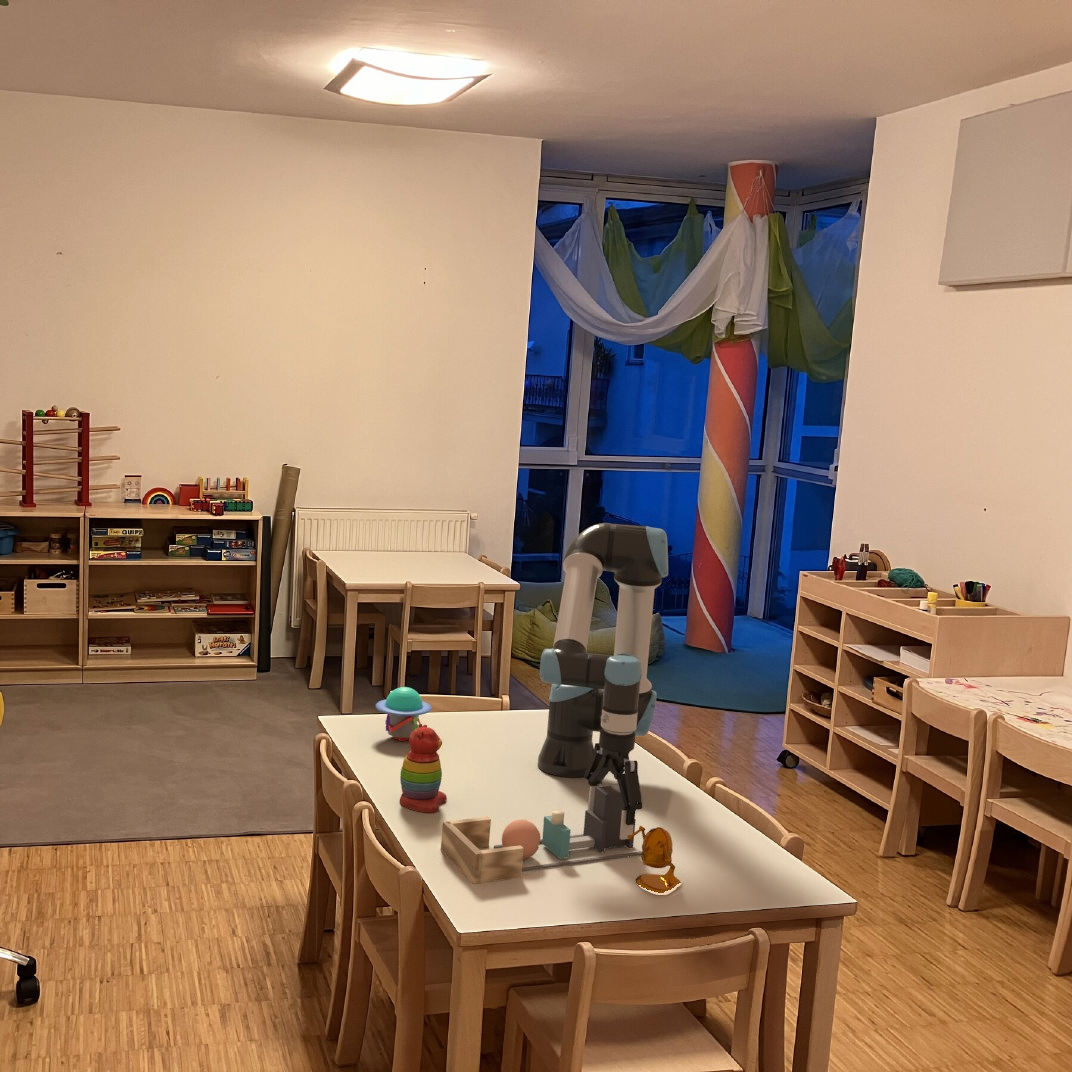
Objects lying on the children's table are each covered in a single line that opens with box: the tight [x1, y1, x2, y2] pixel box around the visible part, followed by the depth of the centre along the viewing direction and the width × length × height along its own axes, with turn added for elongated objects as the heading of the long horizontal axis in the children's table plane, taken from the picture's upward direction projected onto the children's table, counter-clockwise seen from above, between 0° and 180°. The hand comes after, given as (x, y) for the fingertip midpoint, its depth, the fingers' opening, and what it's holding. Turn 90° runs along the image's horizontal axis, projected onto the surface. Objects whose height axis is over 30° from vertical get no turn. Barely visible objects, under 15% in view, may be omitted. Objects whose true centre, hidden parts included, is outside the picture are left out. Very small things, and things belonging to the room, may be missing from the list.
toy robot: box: [375, 686, 433, 742], centre depth 307 cm, size 15×15×14 cm
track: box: [493, 833, 642, 873], centre depth 242 cm, size 29×12×1 cm, turn 117°
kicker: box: [541, 784, 637, 859], centre depth 243 cm, size 20×8×12 cm, turn 117°
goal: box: [440, 816, 524, 885], centre depth 232 cm, size 10×17×6 cm, turn 27°
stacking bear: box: [399, 724, 448, 814], centre depth 261 cm, size 11×10×18 cm
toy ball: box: [501, 819, 541, 860], centre depth 236 cm, size 8×8×8 cm
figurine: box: [627, 825, 682, 893], centre depth 227 cm, size 8×11×12 cm
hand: (609, 826), depth 245 cm, fingers open, 13 cm apart
